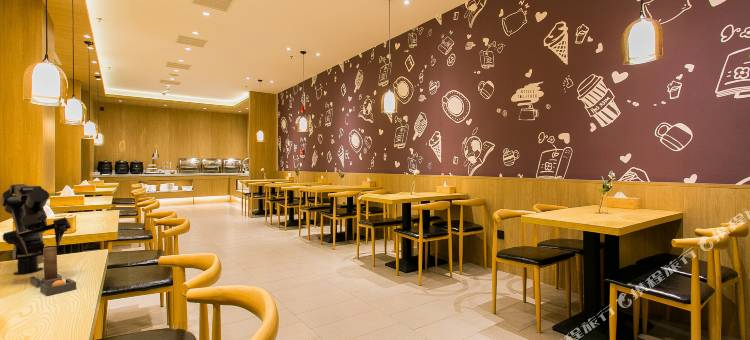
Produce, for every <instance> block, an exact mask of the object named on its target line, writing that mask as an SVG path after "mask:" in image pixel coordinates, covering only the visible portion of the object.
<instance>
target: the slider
mask: <svg viewBox="0 0 750 340" xmlns="http://www.w3.org/2000/svg"><path fill="white" fill-rule="evenodd" d="M57 253H58V252H57V246H48V247H44V249H43V255H44V258H43V259H44V261H43V277H42V278H40V280H41V284H45V285H47V286H48V287H52V284H53V283H54V282H55V281H57V280H62V281H63V278H60V277H59V276H57V274H58V254H57Z"/></svg>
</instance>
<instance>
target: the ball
mask: <svg viewBox="0 0 750 340" xmlns="http://www.w3.org/2000/svg"><path fill="white" fill-rule="evenodd" d="M62 284H66V281H64V280H63V279H62V280H57V281H55V282H54V283H53V284H52V287H53V286H57V285H62Z"/></svg>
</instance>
